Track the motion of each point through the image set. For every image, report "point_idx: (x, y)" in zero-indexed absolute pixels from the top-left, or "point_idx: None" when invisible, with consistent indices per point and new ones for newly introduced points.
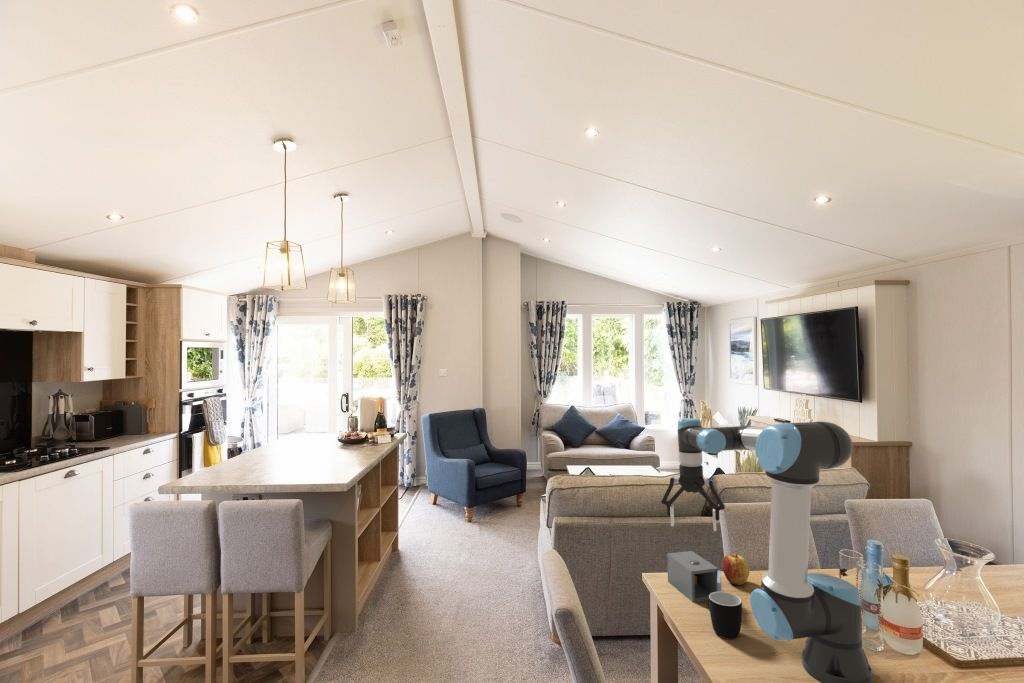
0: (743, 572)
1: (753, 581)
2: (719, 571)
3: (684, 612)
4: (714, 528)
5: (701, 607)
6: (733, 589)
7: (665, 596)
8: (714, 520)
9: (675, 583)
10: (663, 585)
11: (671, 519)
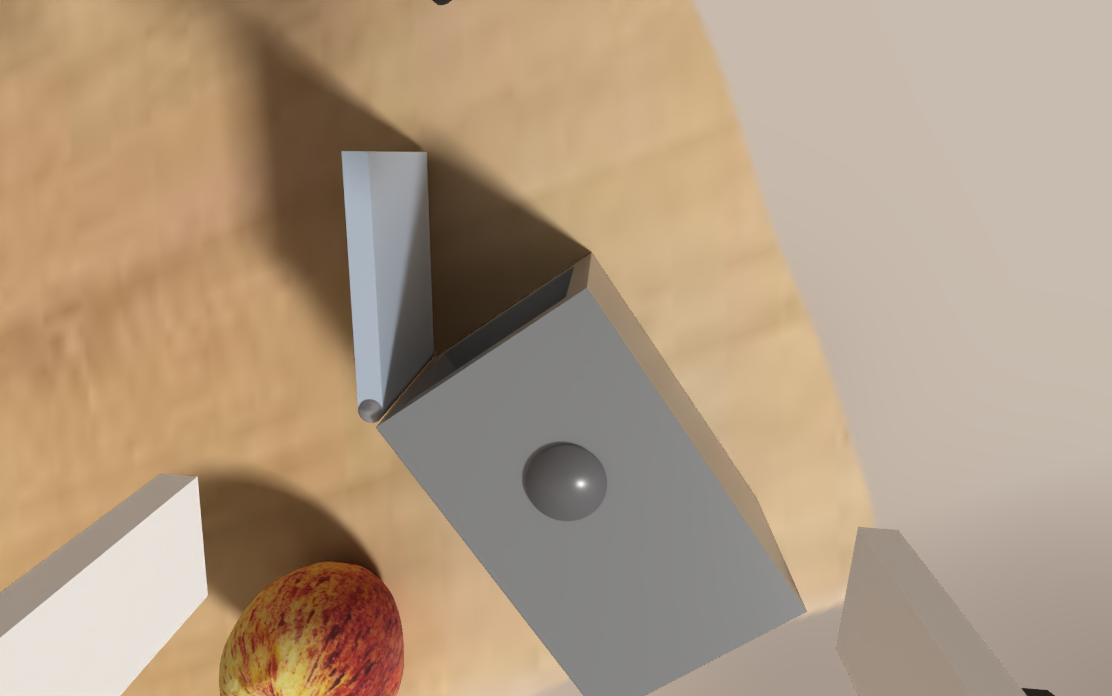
0: (259, 594)
1: None
2: (367, 391)
3: (635, 82)
4: (155, 496)
5: (532, 196)
6: (360, 508)
7: (766, 275)
8: (46, 576)
9: (708, 430)
10: (784, 434)
11: (937, 601)
